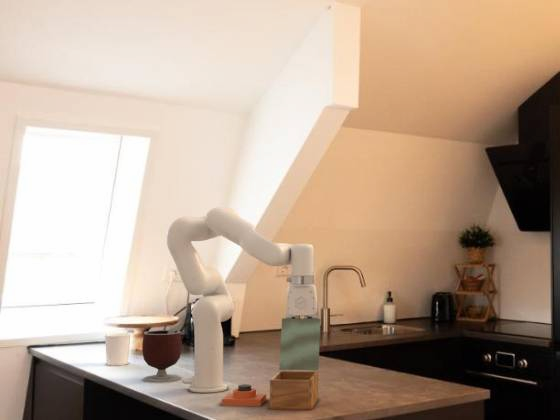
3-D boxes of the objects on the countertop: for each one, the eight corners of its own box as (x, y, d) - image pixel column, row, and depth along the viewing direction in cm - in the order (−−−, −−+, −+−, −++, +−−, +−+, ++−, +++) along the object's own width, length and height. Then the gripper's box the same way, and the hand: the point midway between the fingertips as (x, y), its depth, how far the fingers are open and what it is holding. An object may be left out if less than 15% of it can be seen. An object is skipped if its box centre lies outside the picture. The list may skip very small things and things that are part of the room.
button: (236, 392, 237) (236, 386, 237) (239, 389, 241) (239, 384, 241) (249, 392, 237) (249, 386, 237) (252, 390, 241) (252, 384, 241)
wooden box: (311, 409, 229) (311, 380, 229) (269, 409, 229) (270, 379, 230) (318, 398, 244) (318, 371, 245) (279, 398, 245) (279, 370, 245)
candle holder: (130, 361, 319) (130, 332, 319) (129, 365, 310) (130, 335, 310) (105, 362, 316) (105, 333, 316) (104, 366, 306) (104, 336, 307)
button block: (221, 405, 234) (222, 392, 235) (229, 399, 243) (229, 386, 244) (260, 406, 234) (260, 392, 234) (266, 399, 243) (266, 387, 243)
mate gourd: (159, 384, 269) (160, 327, 270) (133, 380, 277) (134, 324, 277) (192, 377, 282) (193, 323, 283) (167, 373, 290) (167, 321, 290)
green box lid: (320, 318, 249) (320, 318, 250) (281, 318, 250) (282, 318, 251) (318, 369, 244) (318, 370, 245) (279, 369, 245) (279, 369, 246)
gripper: (277, 281, 249) (277, 338, 248) (323, 281, 248) (323, 338, 248) (281, 280, 256) (281, 335, 256) (326, 280, 256) (325, 335, 255)
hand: (302, 336), depth 252 cm, fingers closed
